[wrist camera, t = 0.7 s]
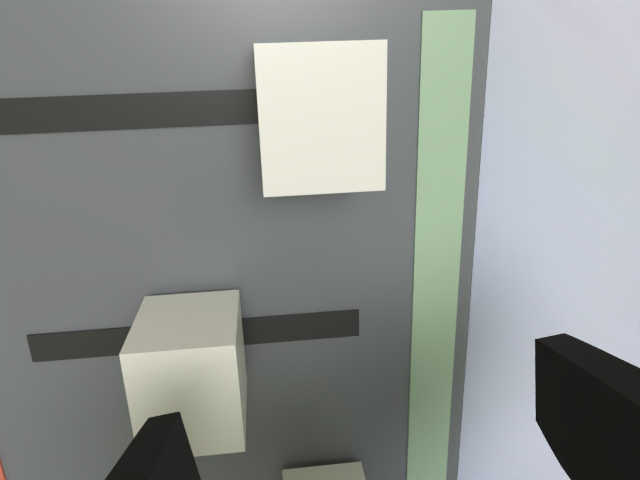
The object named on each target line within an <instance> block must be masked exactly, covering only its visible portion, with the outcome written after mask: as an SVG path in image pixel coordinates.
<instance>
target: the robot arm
mask: <svg viewBox="0 0 640 480" xmlns="http://www.w3.org/2000/svg"><path fill="white" fill-rule="evenodd" d="M535 380H536V422H537V423H538V425H539V427H540V429H541V431H542V433H543V435H544V436H545V438H546V440H547V442H548V444H549V446H550V447H551V449H552V451H553V453H554V454H555V456H556V458H557V460H558V461H559V463H560V465H561V466H562V468H563V469H564V471H565V472H566V473H567V475H568V476H569V478H570V479H571V480H640V368H638V367H636V366H634V365H632V364H630V363H628V362H626V361H624V360H621V359H619V358H617V357H615V356H613V355H611V354H609V353H607V352H605V351H603V350H601V349H598V348H596V347H594V346H592V345H590V344H588V343H586V342H583V341H581V340H579V339H577V338H575V337H572V336H570V335H567V334H565V333H563V334H558V335H554V336H549V337H544V338H539V339H535ZM105 480H201V478H200V475H199V472H198V469H197V465H196V462H195V459H194V456H193V453H192V449H191V446H190V443H189V440H188V437H187V433H186V430H185V427H184V424H183V420H182V417H181V414H180V411H179V412H174V413H169V414H164V415H159V416H154V417H149V418H148V419H147V421H146V422H145V423H144V425H143V426H142V427H141V429H140V430H139V431H138V433H137V434H136V436H135V437H134V439H133V440H132V441H131V443H130V444H129V446H128V447H127V449H126V450H125V451H124V453H123V454H122V456H121V457H120V459H119V460H118V461H117V463H116V464H115V466H114V467H113V468H112V470H111V471H110V473H109V474H108V476H107V477H106V478H105Z"/></svg>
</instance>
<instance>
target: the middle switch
mask: <svg viewBox="0 0 640 480" xmlns="http://www.w3.org/2000/svg"><path fill="white" fill-rule="evenodd" d="M119 357H120V363H121V369H122V374H123V380H124V385H125V391H126V397H127V402H128V408H129V413H130V419H131V425H132V430H133V436H134V437H135V436H136V434H137V433H138V431H139V430H140V429H141V427H142V426H143V425H144V423H145V422H146V421H147V419H148V418H149V417H154V416H159V415H164V414H169V413H174V412H179V411H180V414H181V417H182V420H183V424H184V427H185V430H186V433H187V437H188V440H189V443H190V446H191V449H192V453H193V456H194V457H197V456H207V455H217V454H227V453H237V452H245V444H246V406H247V373H246V362H245V350H244V339H243V327H242V316H241V305H240V293H239V290H225V291H212V292H198V293H184V294H170V295H156V296H145V297H144V299H143V301H142V304H141V306H140V308H139V311H138V313H137V315H136V317H135V320H134V322H133V324H132V326H131V329H130V331H129V333H128V335H127V338H126V340H125V342H124V345H123V347H122V349H121V351H120V354H119Z"/></svg>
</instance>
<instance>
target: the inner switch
mask: <svg viewBox="0 0 640 480" xmlns="http://www.w3.org/2000/svg"><path fill="white" fill-rule="evenodd" d="M282 478H283V480H366V479H365V475H364V471H363V467H362V463H361V462H351V463H342V464H332V465H322V466H313V467H303V468H293V469H284V470H282Z"/></svg>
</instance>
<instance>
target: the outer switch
mask: <svg viewBox="0 0 640 480" xmlns="http://www.w3.org/2000/svg"><path fill="white" fill-rule="evenodd" d="M253 45H254V60H255V75H256V90H257V106H258V121H259V136H260V151H261V166H262V181H263V196H264V197H278V196H295V195H313V194H331V193H348V192H366V191H384V190H385V188H386V112H387V39H383V40H350V41H317V42H284V43H253Z"/></svg>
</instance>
